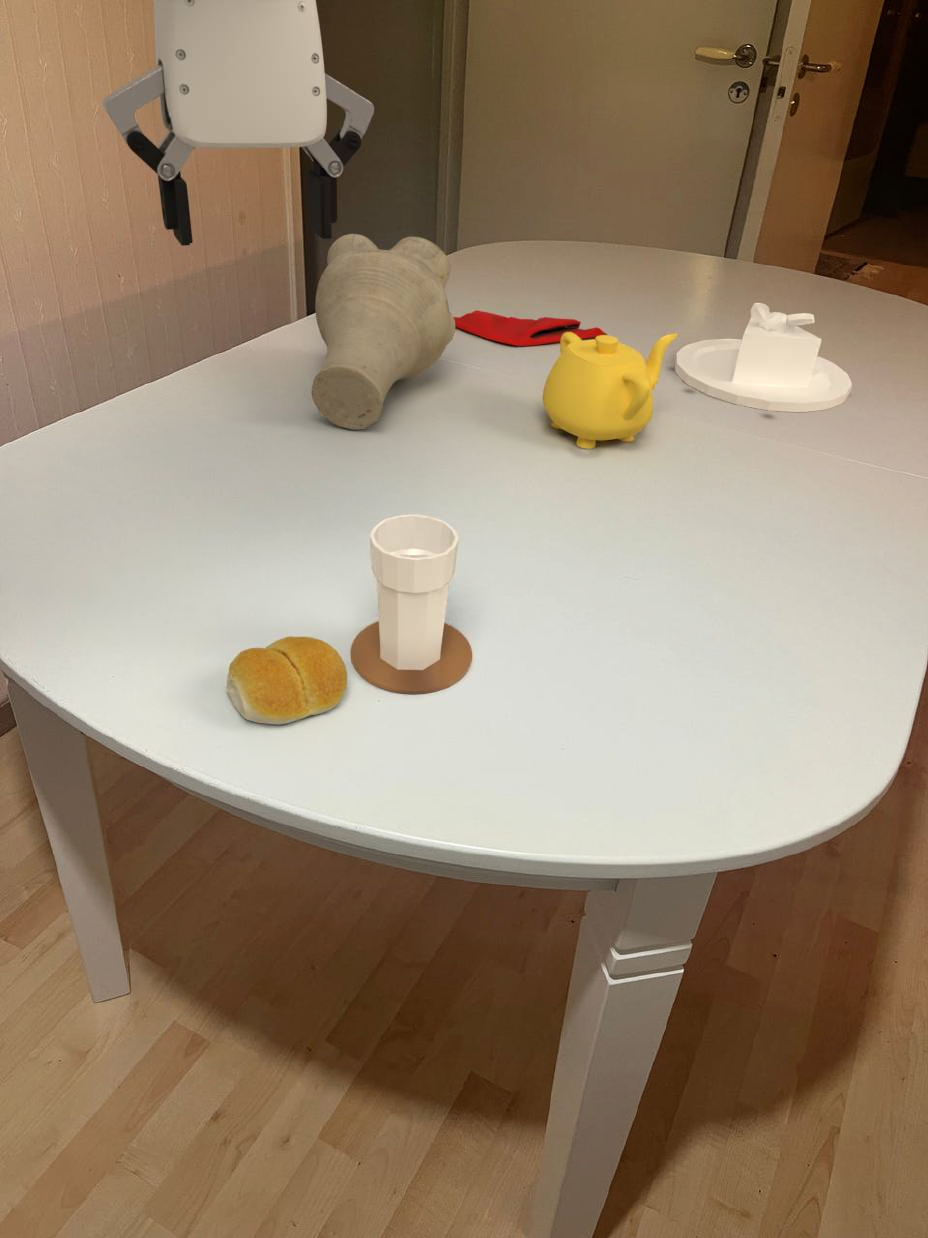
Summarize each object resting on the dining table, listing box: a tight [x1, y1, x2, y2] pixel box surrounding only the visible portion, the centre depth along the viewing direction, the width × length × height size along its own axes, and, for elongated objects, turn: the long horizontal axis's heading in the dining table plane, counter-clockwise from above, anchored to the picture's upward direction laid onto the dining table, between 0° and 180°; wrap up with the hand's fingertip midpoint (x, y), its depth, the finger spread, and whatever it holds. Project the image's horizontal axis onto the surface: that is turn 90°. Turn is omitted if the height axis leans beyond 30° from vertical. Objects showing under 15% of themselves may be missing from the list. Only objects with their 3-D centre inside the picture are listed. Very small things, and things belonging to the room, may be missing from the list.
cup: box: [369, 513, 460, 670], centre depth 73 cm, size 7×7×11 cm
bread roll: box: [225, 636, 348, 725], centre depth 71 cm, size 8×9×4 cm
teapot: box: [541, 332, 679, 450], centre depth 112 cm, size 14×14×12 cm
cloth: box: [453, 310, 609, 347], centre depth 143 cm, size 26×14×2 cm, turn 73°
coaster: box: [350, 620, 473, 695], centre depth 76 cm, size 10×10×1 cm
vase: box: [311, 233, 456, 431], centre depth 113 cm, size 22×22×28 cm
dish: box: [674, 302, 853, 413], centre depth 131 cm, size 25×25×11 cm
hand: (253, 237), depth 64 cm, fingers open, 9 cm apart
